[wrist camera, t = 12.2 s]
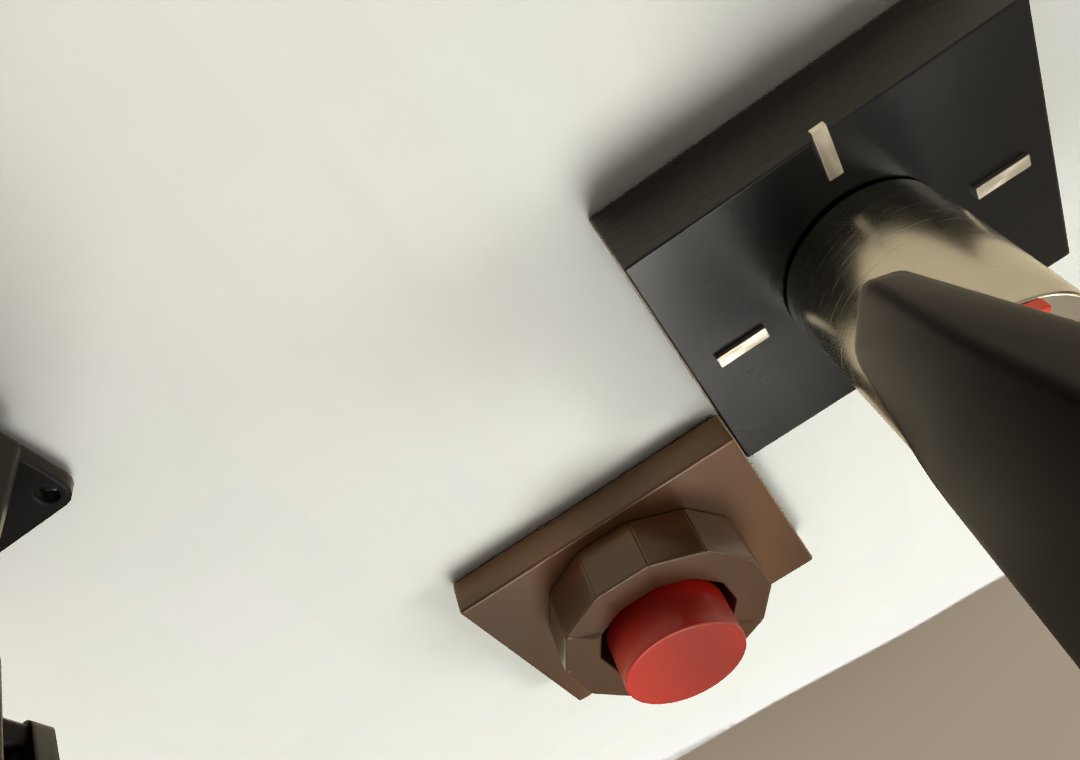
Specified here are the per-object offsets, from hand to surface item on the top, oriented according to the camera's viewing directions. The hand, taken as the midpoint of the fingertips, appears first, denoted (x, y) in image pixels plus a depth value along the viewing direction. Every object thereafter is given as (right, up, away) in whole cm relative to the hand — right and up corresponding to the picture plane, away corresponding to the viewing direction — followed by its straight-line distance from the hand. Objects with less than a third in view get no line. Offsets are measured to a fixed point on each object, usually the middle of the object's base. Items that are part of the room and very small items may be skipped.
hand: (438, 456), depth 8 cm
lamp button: (+5, -7, +20) cm, 21 cm away
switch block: (+4, -5, +22) cm, 23 cm away
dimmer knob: (+9, +4, +13) cm, 16 cm away
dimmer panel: (+8, +5, +15) cm, 18 cm away
